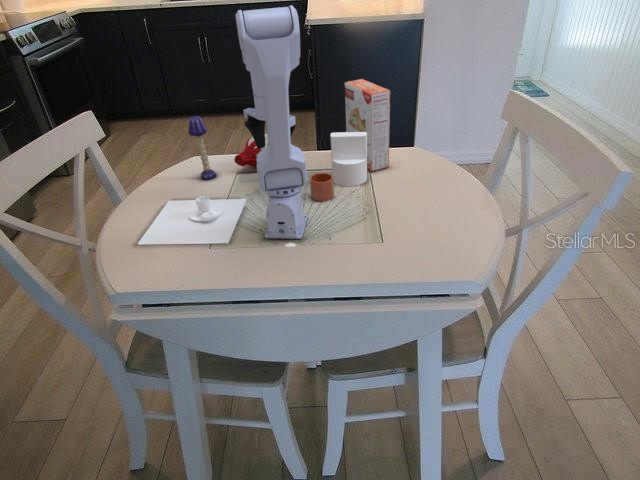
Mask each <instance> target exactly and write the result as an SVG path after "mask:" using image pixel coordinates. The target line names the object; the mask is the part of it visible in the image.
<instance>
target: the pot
mask: <svg viewBox="0 0 640 480" xmlns="http://www.w3.org/2000/svg"><path fill="white" fill-rule="evenodd" d="M334 184H335V183H334V182H333V176H332V173H331V174H330V173H328V172H318V173H314V174H311V175H310V176H309V191H310V196H311V198H312V199H313V200H315V201H318V202H325V201H329V200H331V199H332V198H333V197H334V195H335V186H334Z"/></svg>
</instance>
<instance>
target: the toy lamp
mask: <svg viewBox="0 0 640 480" xmlns="http://www.w3.org/2000/svg"><path fill="white" fill-rule="evenodd" d="M207 133H208V129H207V127H206V124H205V123H204V120H203V119H202V117H201V116H199V115H194V116H191V117H189V119H188V134H189V136H192V137H195V138H196V143H197V145H198V146H197V148H198V150H199V155H200V160H201V164H202V169H203V171H202V172H201V174H200V180H203V181H209V180H210V181H211V180H214V179H215V178H216V177H217V173H216V171H215V170H214V169H211V166H210V162H209V157H208V155H207V154H208V153H207V149H206V144H205V139H204V136H203V135H206V134H207Z"/></svg>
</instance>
